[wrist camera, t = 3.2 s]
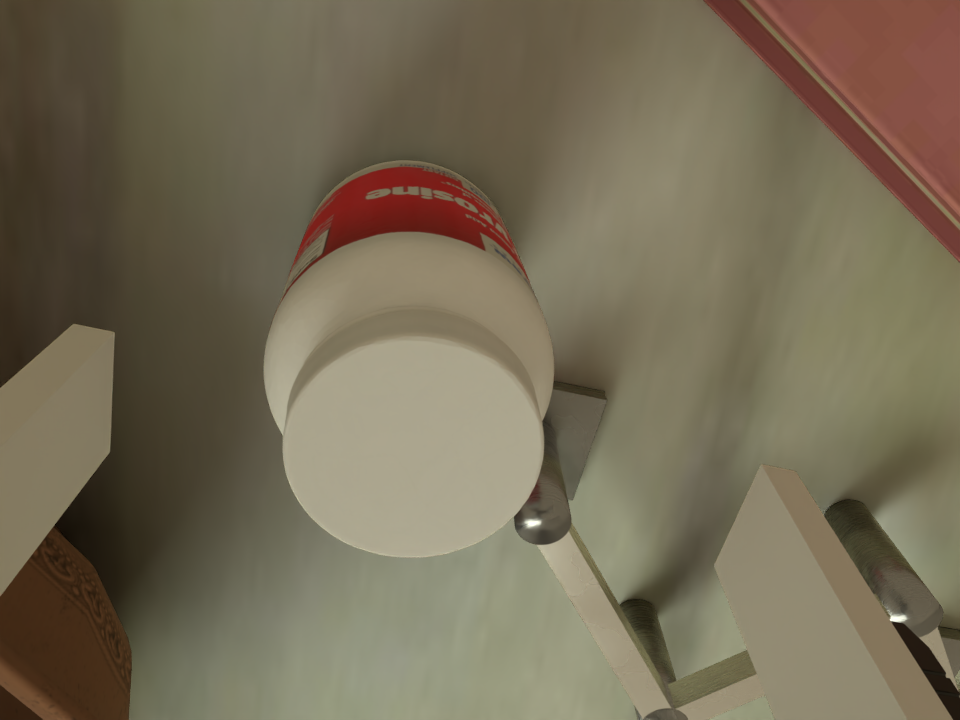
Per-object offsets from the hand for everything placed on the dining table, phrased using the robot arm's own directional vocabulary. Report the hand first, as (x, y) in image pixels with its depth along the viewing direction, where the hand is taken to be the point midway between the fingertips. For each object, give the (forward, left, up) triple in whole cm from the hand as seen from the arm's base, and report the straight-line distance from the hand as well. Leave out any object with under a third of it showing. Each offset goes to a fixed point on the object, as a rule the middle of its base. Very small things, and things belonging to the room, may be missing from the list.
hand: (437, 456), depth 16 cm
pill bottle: (-1, +1, -10) cm, 10 cm away
